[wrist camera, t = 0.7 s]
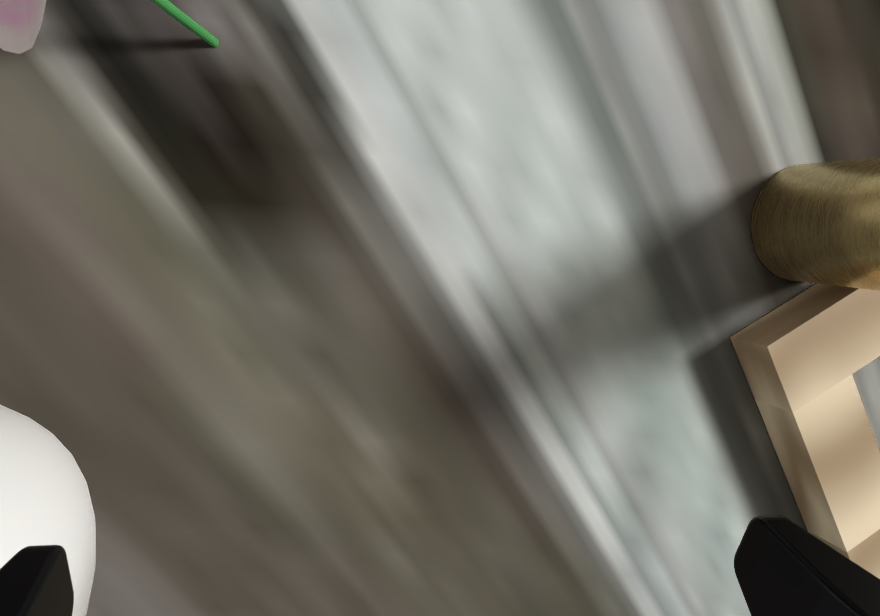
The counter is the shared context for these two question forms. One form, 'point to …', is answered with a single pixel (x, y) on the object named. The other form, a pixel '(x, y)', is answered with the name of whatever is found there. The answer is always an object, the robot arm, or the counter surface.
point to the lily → (21, 13)
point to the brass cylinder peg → (821, 223)
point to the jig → (821, 410)
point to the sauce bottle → (45, 500)
